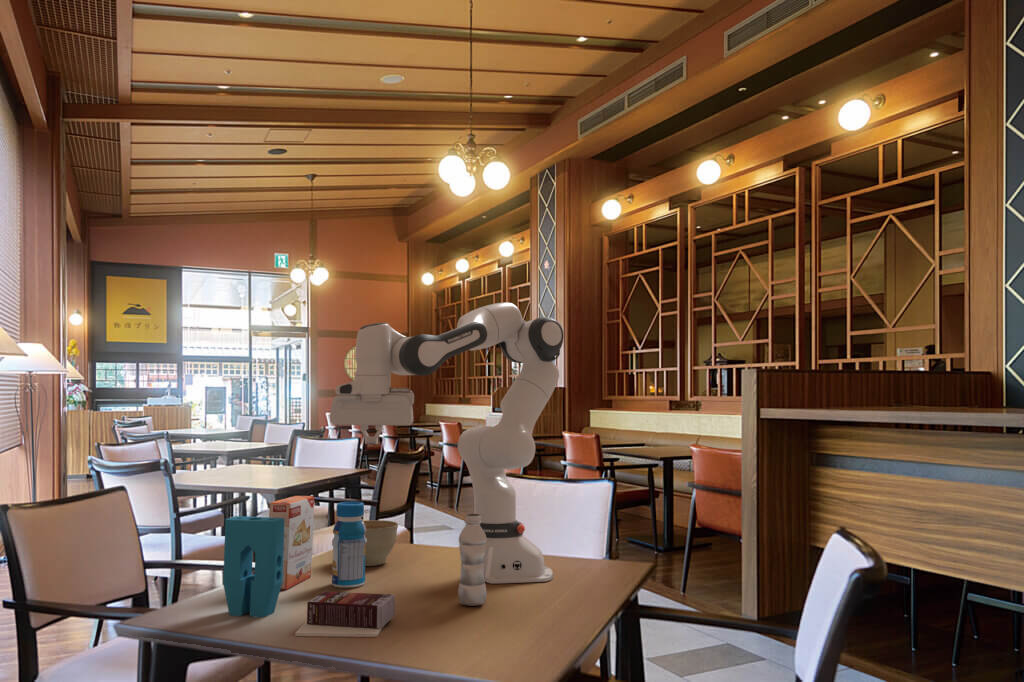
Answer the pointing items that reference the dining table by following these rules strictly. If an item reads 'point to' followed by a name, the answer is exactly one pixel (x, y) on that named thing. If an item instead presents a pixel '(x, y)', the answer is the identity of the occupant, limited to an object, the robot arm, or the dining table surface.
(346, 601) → the supplement box
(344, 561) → the beverage bottle
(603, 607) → the dining table surface
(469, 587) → the plastic bottle
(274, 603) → the block
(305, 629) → the felt mat
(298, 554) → the cracker box
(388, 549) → the planter bowl
